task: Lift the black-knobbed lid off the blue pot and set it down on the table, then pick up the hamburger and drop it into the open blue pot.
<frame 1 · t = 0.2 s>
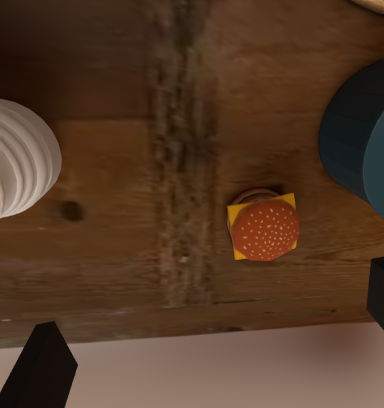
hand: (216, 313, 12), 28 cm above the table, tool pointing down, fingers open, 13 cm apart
honey pot: (9, 152, 36), on the table
blue pot: (382, 129, 38), on the table
hamburger: (255, 214, 42), on the table
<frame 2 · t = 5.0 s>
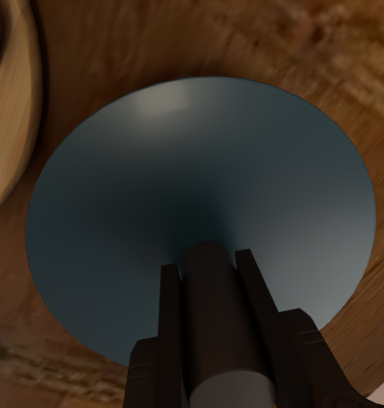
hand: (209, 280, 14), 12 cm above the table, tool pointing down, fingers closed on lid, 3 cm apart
lid: (205, 257, 16), point 10 cm above the table, touching gripper
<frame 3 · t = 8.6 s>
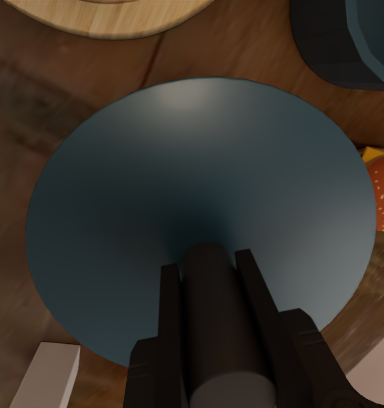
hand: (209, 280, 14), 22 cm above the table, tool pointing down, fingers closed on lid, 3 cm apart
milk: (60, 354, 47), on the table
lid: (205, 257, 16), point 20 cm above the table, touching gripper
hamburger: (359, 180, 37), on the table
when the fingers open (2 cm above the table, at t = 12.3 s): lid stays where it is, point 1 cm above the table.
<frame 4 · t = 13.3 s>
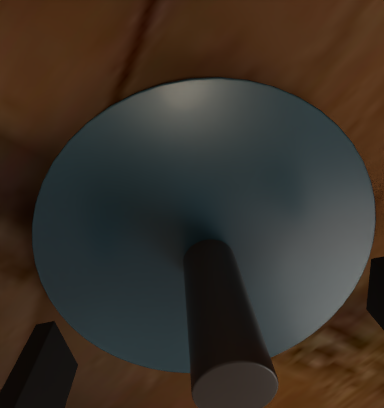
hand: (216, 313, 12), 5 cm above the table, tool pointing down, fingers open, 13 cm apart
lid: (207, 254, 16), point 1 cm above the table
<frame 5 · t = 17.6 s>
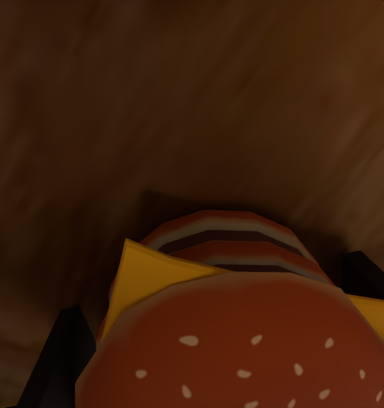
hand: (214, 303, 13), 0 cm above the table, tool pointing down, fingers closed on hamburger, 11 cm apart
hamburger: (212, 294, 13), on the table, touching gripper
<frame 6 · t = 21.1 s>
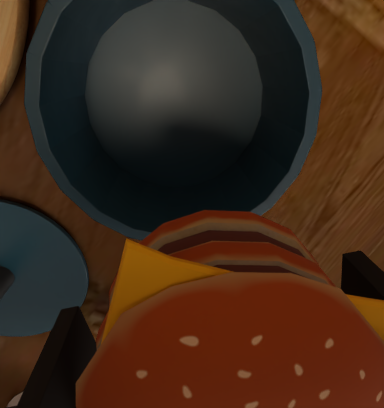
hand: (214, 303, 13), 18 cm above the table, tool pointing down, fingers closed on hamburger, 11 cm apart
blue pot: (175, 104, 26), on the table
lid: (4, 272, 32), point 1 cm above the table
hamburger: (212, 295, 13), point 17 cm above the table, touching gripper
when the fingers open (8 cm above the table, at t = 24.9 s): hamburger drops 7 cm, resting on blue pot.
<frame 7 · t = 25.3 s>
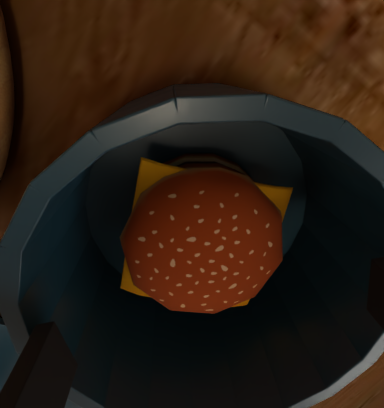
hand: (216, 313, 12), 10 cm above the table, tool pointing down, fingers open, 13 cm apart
blue pot: (197, 210, 21), on the table
hamburger: (196, 212, 21), resting on blue pot
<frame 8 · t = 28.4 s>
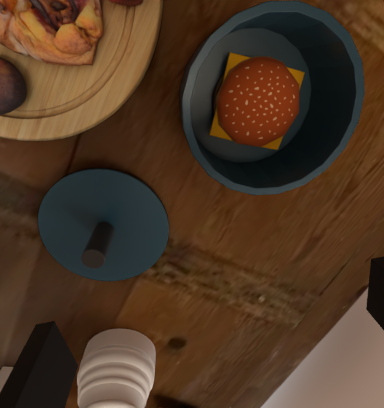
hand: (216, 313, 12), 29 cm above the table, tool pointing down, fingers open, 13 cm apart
honey pot: (120, 352, 53), on the table
blue pot: (247, 101, 36), on the table
milk: (20, 376, 54), on the table
lid: (105, 228, 41), point 1 cm above the table
hamburger: (247, 101, 36), resting on blue pot
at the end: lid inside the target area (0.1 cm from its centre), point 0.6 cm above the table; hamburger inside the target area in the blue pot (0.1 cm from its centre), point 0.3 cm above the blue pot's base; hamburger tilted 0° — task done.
